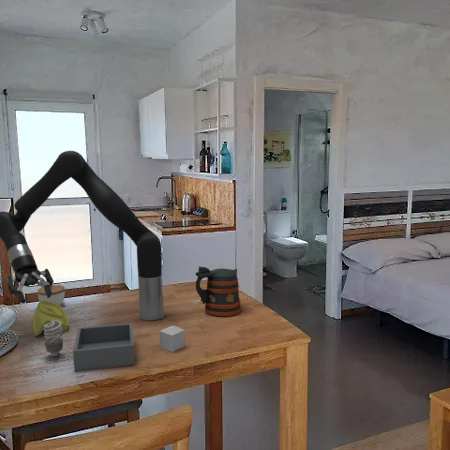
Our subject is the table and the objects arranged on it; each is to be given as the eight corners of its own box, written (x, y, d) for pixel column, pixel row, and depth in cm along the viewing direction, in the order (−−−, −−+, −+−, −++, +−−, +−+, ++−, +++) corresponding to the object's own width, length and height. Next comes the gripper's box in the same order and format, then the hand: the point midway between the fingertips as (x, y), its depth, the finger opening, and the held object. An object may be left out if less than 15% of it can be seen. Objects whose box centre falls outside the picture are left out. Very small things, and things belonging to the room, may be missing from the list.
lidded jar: (42, 312, 186) (41, 290, 184) (36, 305, 194) (34, 284, 192) (69, 307, 192) (67, 285, 190) (61, 300, 200) (60, 279, 199)
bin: (132, 340, 159) (132, 323, 158) (134, 364, 142) (134, 345, 141) (79, 346, 155) (77, 328, 154) (74, 371, 138) (73, 351, 137)
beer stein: (206, 322, 175) (205, 272, 171) (189, 310, 187) (188, 263, 184) (247, 313, 185) (247, 265, 181) (228, 302, 197) (228, 257, 193)
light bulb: (48, 352, 150) (46, 318, 148) (66, 351, 151) (63, 317, 148) (43, 360, 145) (40, 325, 142) (61, 359, 145) (59, 324, 143)
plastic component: (70, 325, 167) (43, 319, 161) (62, 344, 167) (34, 338, 162) (62, 305, 184) (37, 298, 178) (54, 321, 184) (29, 315, 179)
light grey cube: (160, 347, 154) (159, 330, 153) (173, 341, 158) (172, 325, 157) (172, 352, 150) (171, 335, 149) (185, 346, 155) (184, 329, 154)
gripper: (2, 257, 152) (17, 298, 146) (44, 250, 162) (60, 289, 156) (-2, 269, 157) (12, 310, 151) (40, 262, 167) (55, 300, 160)
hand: (37, 299), depth 153 cm, fingers open, 8 cm apart
